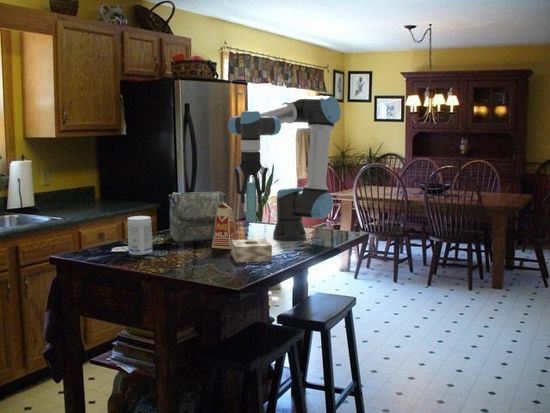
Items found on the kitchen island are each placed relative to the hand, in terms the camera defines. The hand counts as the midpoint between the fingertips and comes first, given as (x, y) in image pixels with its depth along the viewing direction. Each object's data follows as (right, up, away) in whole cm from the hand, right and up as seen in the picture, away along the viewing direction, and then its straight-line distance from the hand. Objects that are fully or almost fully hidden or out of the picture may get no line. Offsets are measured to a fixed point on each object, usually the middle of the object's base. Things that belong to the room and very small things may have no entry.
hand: (250, 211), depth 242 cm
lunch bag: (-26, -13, +43) cm, 52 cm away
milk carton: (-12, -16, +25) cm, 32 cm away
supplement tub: (-46, -17, +11) cm, 50 cm away
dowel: (0, -4, +1) cm, 4 cm away
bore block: (0, -18, +3) cm, 19 cm away
